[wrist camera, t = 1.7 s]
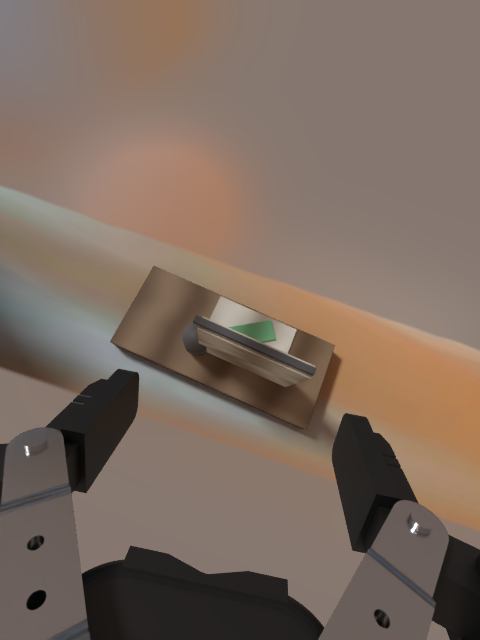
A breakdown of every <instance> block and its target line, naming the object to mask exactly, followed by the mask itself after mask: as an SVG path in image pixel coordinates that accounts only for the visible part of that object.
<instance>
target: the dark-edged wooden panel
mask: <svg viewBox="0 0 480 640" xmlns="http://www.w3.org/2000/svg"><path fill="white" fill-rule="evenodd" d="M182 340H183V343H184V346H185V348H186V350H187V351H188V352H189V353H190V354H192V355H196V356H199V355H203V354H205V353H206V352H207V353H210V354H212V355H214V356H216V357H219V358H221V359H223V360H225V361H228V362H230V363H232V364H234V365H237V366H239V367H241V368H243V369H246V370H248V371H250V372H252V373H255V374H257V375H259V376H261V377H264V378H266V379H268V380H270V381H273V382H275V383H277V384H279V385H282V386H284V387H287V386H291V385H294V384H297V383H300V382H303V381H306V380H309V379H311V377H312V376H313V375H315V372H316V369H317V368H315V366H314V365H312V364H310V363H308V362H305V361H303V360H301V359H299V358H296V357H294V356H292V355H290V354H287V353H285V352H283V351H281V350H278V349H276V348H274V347H271V346H269V345H267V344H265V343H262V342H260V341H258V340H256V339H253V338H251V337H249V336H247V335H244V334H242V333H240V332H238V331H235V330H233V329H231V328H229V327H226V326H224V325H222V324H219V323H217V322H215V321H213V320H210V319H208V318H206V317H204V316H203V317H200V316H198V315H196V316H195V318H194V320H193V323H191V324H189V325H188V326H187V327H186V328H185V329H184V331H183V334H182Z"/></svg>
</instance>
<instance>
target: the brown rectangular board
mask: <svg viewBox="0 0 480 640" xmlns="http://www.w3.org/2000/svg"><path fill="white" fill-rule="evenodd" d="M196 315H198V316H200V317H203V316H204V317H206V318H208V319H210V320H213V321H215V322H217V323H219V324H222V325H224V326H226V327H229V328H231V329H233V330H235V331H238V332H240V333H242V334H244V335H247V336H249V337H251V338H253V339H256V340H258V341H260V342H262V343H265V344H267V345H269V346H271V347H274V348H276V349H278V350H281V351H283V352H285V353H287V354H290V355H292V356H294V357H296V358H299V359H301V360H303V361H305V362H308V363H310V364H312V365H314V366H315V368H317V369H316V372H315V375H313V376H312V377H311V379H309V380H306V381H303V382H300V383H297V384H294V385H291V386H287V387H284V386H282V385H279V384H277V383H275V382H273V381H270V380H268V379H266V378H264V377H261V376H259V375H257V374H255V373H252V372H250V371H248V370H246V369H243V368H241V367H239V366H237V365H234V364H232V363H230V362H228V361H225V360H223V359H221V358H219V357H216V356H214V355H212V354H210V353H207V352H206V353H205V354H203V355H199V356H196V355H192V354H190V353H189V352H188V351H187V350H186V348H185V346H184V343H183V340H182V334H183V331H184V329H185V328H186V327H187V326H188V325H189V324H191V323H193V320H194V318H195V316H196ZM110 342H111V343H113V344H114V345H116V346H118V347H120V348H122V349H125V350H127V351H129V352H131V353H134V354H136V355H138V356H140V357H142V358H145V359H147V360H149V361H151V362H154V363H156V364H158V365H160V366H163V367H165V368H167V369H169V370H172V371H174V372H176V373H178V374H180V375H183V376H185V377H187V378H189V379H192V380H194V381H196V382H198V383H201V384H203V385H205V386H207V387H210V388H212V389H214V390H216V391H218V392H221V393H223V394H225V395H227V396H230V397H232V398H234V399H236V400H239V401H241V402H243V403H245V404H248V405H250V406H252V407H254V408H256V409H259V410H261V411H263V412H265V413H268V414H270V415H272V416H274V417H277V418H279V419H281V420H283V421H286V422H288V423H290V424H292V425H294V426H297V427H299V428H301V429H306V430H307V427H308V424H309V421H310V418H311V415H312V412H313V409H314V406H315V403H316V400H317V397H318V395H319V392H320V389H321V386H322V383H323V380H324V377H325V374H326V371H327V368H328V365H329V362H330V359H331V356H332V353H333V350H334V347H335V345H333V344H331V343H329V342H326V341H324V340H322V339H319V338H317V337H315V336H313V335H310V334H308V333H306V332H304V331H301V330H299V329H297V328H294V327H292V326H290V325H288V324H285V323H283V322H281V321H279V320H276V319H274V318H272V317H269V316H267V315H265V314H263V313H260V312H258V311H256V310H254V309H251V308H249V307H247V306H244V305H242V304H240V303H238V302H235V301H233V300H231V299H229V298H226V297H224V296H222V295H219V294H217V293H215V292H213V291H210V290H208V289H206V288H204V287H201V286H199V285H197V284H194V283H192V282H190V281H188V280H185V279H183V278H181V277H179V276H176V275H174V274H172V273H169V272H167V271H165V270H163V269H160V268H158V267H156V266H153V268H152V270H151V272H150V273H149V275H148V277H147V279H146V280H145V282H144V284H143V285H142V287H141V289H140V291H139V292H138V294H137V296H136V298H135V299H134V301H133V303H132V305H131V306H130V308H129V310H128V311H127V313H126V315H125V317H124V318H123V320H122V322H121V324H120V325H119V327H118V329H117V331H116V332H115V334H114V336H113V337H112V339H111V341H110Z"/></svg>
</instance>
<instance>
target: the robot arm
mask: <svg viewBox="0 0 480 640" xmlns="http://www.w3.org/2000/svg"><path fill="white" fill-rule="evenodd" d="M138 392H139V374H138V373H137V372H133V371H127V370H122V369H118V370H116V371H115V372H114V373H113V375H112V376H111V377H110V378H109V379H108V380H105V379H100V380H98V381H96V382H94V383H92V384H90V385H88V386H87V387H86V388H85V389H84V390H83V391H82V392H81V393H80V395H78V396H77V397H76V398H75V399H74V400H73V402H71V403H70V404H69V405H68V406H67V407H66V408H65V409H64V410H63V411H62V412H61V413H60V414H59V415H58V416H56V417H55V418H54V419H53V420H52V421H51V423H49V424H48V425H47V426H46V427H44V428H36V429H32V430H29V431H26V432H23V433H21V434H20V435H18V436H16V437H15V438H14V439H13V440H12V441H11V442H10V443H9V444H0V640H426V639H427V635H428V632H429V628H430V624H431V621H434V622H436V623H437V624H439V625H441V626H443V627H444V628H446V630H447V633H448V635H449V638H450V640H480V550H479V549H477V548H475V547H473V546H471V545H469V544H467V543H464V542H462V541H460V540H458V539H456V538H454V537H452V536H450V535H448V533H447V530H446V528H445V526H444V525H443V523H442V522H441V521H440V520H439V518H438V517H437V516H436V515H435V514H433V513H432V512H431V511H430V510H428V509H427V508H425V507H424V506H422V505H420V504H419V503H418V501H417V499H416V497H415V495H414V493H413V491H412V489H411V487H410V485H409V483H408V481H407V479H406V477H405V474H404V472H403V470H402V469H400V467H401V466H400V464H399V462H398V460H397V459H396V456H395V454H394V452H393V450H392V448H391V446H390V444H389V443H388V442H387V441H386V440H385V439H384V438H383V437H382V436H381V435H380V434H379V433H374V432H373V430H372V428H371V426H370V423H369V421H368V419H367V418H366V417H363V416H358V415H352V414H347V413H345V414H344V416H343V418H342V421H341V424H340V427H339V430H338V433H337V436H336V439H335V442H334V445H333V449H332V463H333V467H334V472H335V476H336V480H337V485H338V489H339V494H340V498H341V502H342V507H343V511H344V515H345V520H346V524H347V529H348V533H349V538H350V542H351V546H352V550H353V551H358V552H362V553H366V554H365V556H364V558H363V560H362V561H361V563H360V565H359V567H358V569H357V570H356V572H355V574H354V576H353V578H352V579H351V581H350V583H349V585H348V587H347V589H346V590H345V592H344V594H343V596H342V598H341V599H340V601H339V603H338V605H337V606H336V608H335V610H334V612H333V614H332V615H331V617H330V619H329V621H328V623H327V624H326V626H325V628H324V627H323V625H322V624H321V623H320V622H319V620H318V619H317V618H316V617H315V616H314V615H313V614H312V613H311V612H310V611H309V610H308V609H307V608H305V607H304V606H303V605H302V604H300V603H299V602H297V601H296V600H295V599H293V598H291V597H290V596H288V584H287V583H288V582H287V579H282V578H277V577H273V576H268V575H263V574H259V573H254V572H250V571H244V572H232V573H219V574H205V573H202V572H200V571H198V570H197V569H195V568H193V567H191V566H189V565H188V564H186V563H184V562H182V561H180V560H178V559H177V558H175V557H173V556H171V555H169V554H167V553H161V552H157V551H153V550H148V549H143V548H138V547H134V546H130V548H129V551H128V553H127V555H126V557H125V560H118V561H113V562H108V563H105V564H102V565H99V566H97V567H94V568H92V569H90V570H88V571H86V572H84V573H83V574H81V567H80V558H79V550H78V542H77V534H76V527H75V519H74V510H73V502H72V495H71V494H72V492H73V491H79V492H84V493H87V491H88V490H89V488H90V487H91V485H92V483H93V482H94V480H95V479H96V477H97V476H98V474H99V473H100V471H101V470H102V468H103V467H104V465H105V463H106V462H107V461H108V459H109V457H110V456H111V454H112V453H113V451H114V450H115V448H116V447H117V445H118V444H119V442H120V441H121V439H122V438H123V436H124V435H125V433H126V431H127V430H128V428H129V427H130V425H131V424H132V422H133V420H134V418H135V416H136V413H137V408H138Z"/></svg>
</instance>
